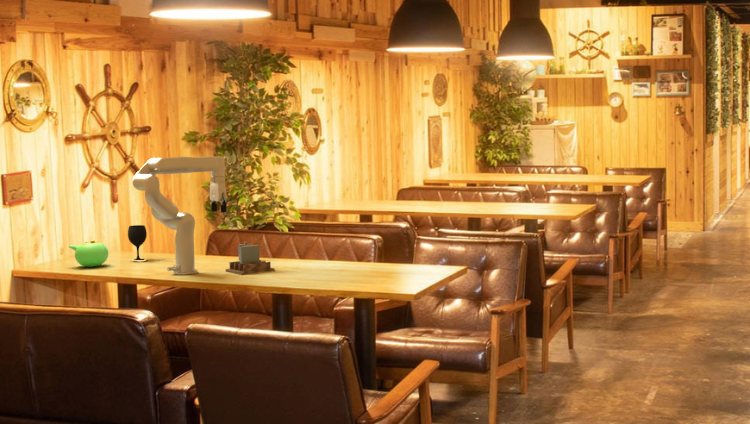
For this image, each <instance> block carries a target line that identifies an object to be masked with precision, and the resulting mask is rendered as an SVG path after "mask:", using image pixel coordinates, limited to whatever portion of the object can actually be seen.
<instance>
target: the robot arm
mask: <svg viewBox="0 0 750 424" xmlns="http://www.w3.org/2000/svg"><path fill="white" fill-rule="evenodd" d="M225 163H226V162H225V157H224V156H222V155H220V156H218V155H216V156H198V157H192V156H174V157H172V156H171V157H151V158H150V159H148V160H147V161H146V162H145V163H144V164H143V165H142V167H141V168H140V169H139V170H138V171H137V172H136V173H135V174H134V176H133V178H132V186H133V188H135V190H138V191H143V192H144V197H145V202H146V204H147V205H148V206H149V207H150V212H151V215H152V216H153V218H155V220H156V221H159V222H160V223H161V224H162V225H164V226H165V227H167V228H168V229H170V230H176V233H175V236H174V246H175V247H174V248H175V249H174V250H175V264H173V266H169V267H166V269H167V272H172V273H173V274H174V275H180V276H181V275H185V276H186V275H193V274H194V275H195V274H197V273H198V272H199V270H198V269H195V242H194V239H195V238H194V237H195V236H194V234H195V228H196V219H195V217H194V216H193V214H191V213H189V212H185V211H179V208H178V206H177V205H176V204H175V203H174V202H173V201H171V200H170V199H168V198H167V197H166V196H164V195H163V193H162V192H161V189H160V185H161V184H160V180H159V178H158V176H156V175H174V174H175V175H176V174H177V175H178V174H191V173H203V172H204V173H205V172H206V173H207V172H210V184H209V201H210V207H211V208H210V209H211V210H210V211H211V212H217V211H218V205H217V204H218V203H217V202H219V203H220V213H223V214H224V213H227V204H228V198H229V197H228V196H227V188H226V166H225Z"/></svg>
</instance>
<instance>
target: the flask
mask: <svg viewBox="0 0 750 424" xmlns="http://www.w3.org/2000/svg"><path fill="white" fill-rule="evenodd" d="M243 243H244V244H238V245H237V247H238V248H237V249H238V250H239V247H242V246H252V245H253V244H251V243H248V241H243Z"/></svg>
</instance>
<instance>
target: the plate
mask: <svg viewBox="0 0 750 424" xmlns="http://www.w3.org/2000/svg"><path fill="white" fill-rule="evenodd" d="M251 245H252V246H242V247H239V249H238V261H240V264H243V263H252V262H260V245H259V244H251Z"/></svg>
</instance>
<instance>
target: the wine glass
mask: <svg viewBox="0 0 750 424" xmlns="http://www.w3.org/2000/svg"><path fill="white" fill-rule="evenodd" d="M147 235H148V233H147V228H146V226H145V225H142V224H140V225H139V224H136V225H129V226H128V229H127V237H128V240H129V243H131V245H133V246H134V247H136V258H133V259H134V260H144V259H145V258H140V254H139V253H140V246H142V245H143V244H144V243H145V241H146V239H147Z"/></svg>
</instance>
